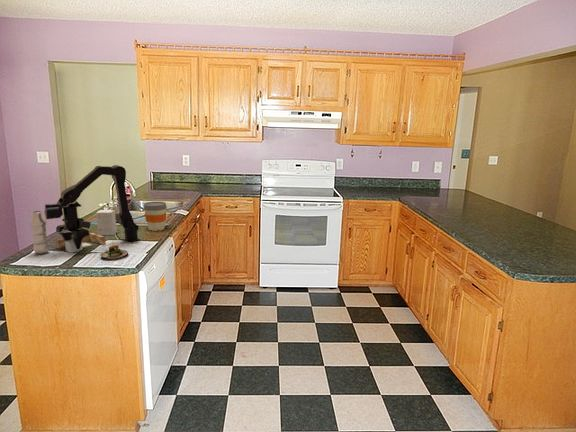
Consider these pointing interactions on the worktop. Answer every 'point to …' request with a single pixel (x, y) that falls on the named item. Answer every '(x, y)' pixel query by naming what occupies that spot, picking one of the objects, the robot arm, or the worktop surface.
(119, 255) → the burger
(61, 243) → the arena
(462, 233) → the worktop surface
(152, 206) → the reusable coffee cup
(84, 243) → the pad
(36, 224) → the plastic bottle
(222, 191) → the worktop surface
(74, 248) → the block
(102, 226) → the small box
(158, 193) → the worktop surface
